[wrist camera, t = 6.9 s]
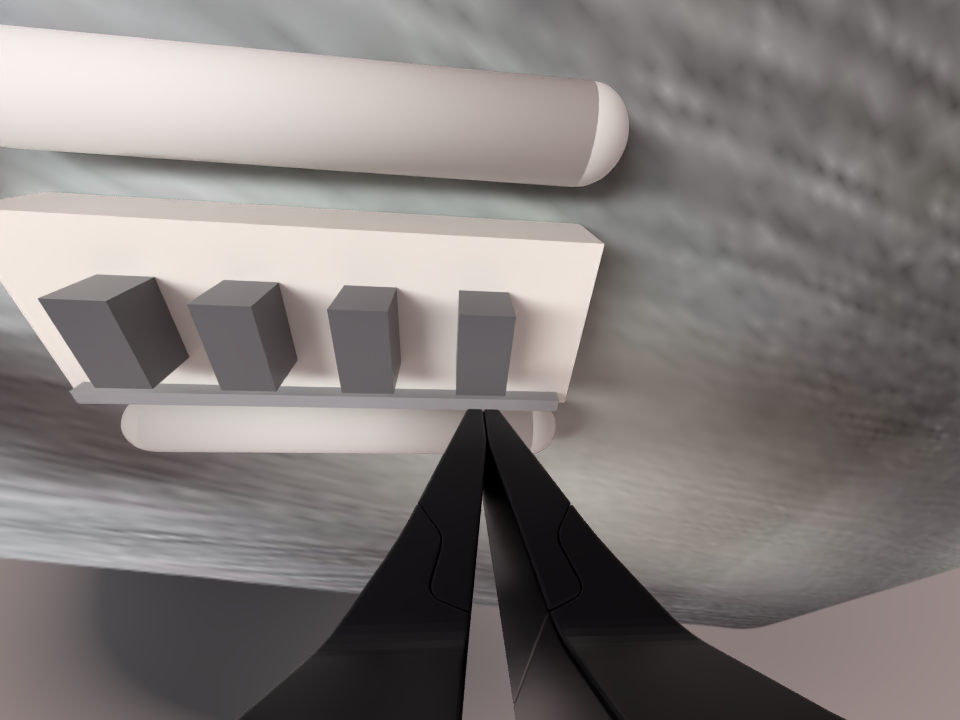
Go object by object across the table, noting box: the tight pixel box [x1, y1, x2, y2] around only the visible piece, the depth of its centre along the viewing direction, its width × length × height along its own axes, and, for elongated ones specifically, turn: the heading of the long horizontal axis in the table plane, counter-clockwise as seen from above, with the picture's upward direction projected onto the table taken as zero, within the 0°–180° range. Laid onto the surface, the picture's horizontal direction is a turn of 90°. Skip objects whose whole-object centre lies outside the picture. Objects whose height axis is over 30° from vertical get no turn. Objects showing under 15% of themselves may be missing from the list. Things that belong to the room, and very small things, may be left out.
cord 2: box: [0, 25, 629, 187], centre depth 11 cm, size 21×3×3 cm, turn 86°
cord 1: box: [121, 404, 556, 454], centre depth 18 cm, size 21×3×3 cm, turn 86°
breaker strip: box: [0, 192, 604, 412], centre depth 14 cm, size 20×7×5 cm, turn 86°
